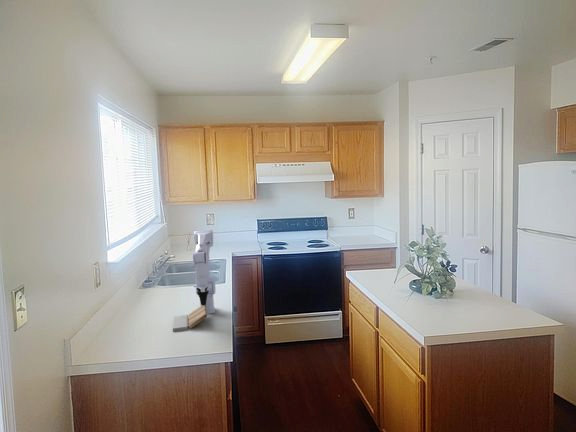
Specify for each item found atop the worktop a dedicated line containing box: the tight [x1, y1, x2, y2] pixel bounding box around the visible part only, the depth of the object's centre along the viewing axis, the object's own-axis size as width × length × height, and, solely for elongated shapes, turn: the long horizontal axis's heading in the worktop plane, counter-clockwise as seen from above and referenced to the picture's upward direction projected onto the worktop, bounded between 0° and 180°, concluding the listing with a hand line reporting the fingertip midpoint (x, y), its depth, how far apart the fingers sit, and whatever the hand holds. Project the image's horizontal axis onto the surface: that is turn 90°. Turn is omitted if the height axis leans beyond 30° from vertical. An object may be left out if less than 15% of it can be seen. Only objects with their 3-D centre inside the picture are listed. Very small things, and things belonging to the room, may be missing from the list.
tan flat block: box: [188, 305, 208, 329], centre depth 212 cm, size 18×10×2 cm
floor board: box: [172, 314, 189, 332], centre depth 211 cm, size 18×7×2 cm, turn 13°
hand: (203, 302), depth 212 cm, fingers open, 7 cm apart
